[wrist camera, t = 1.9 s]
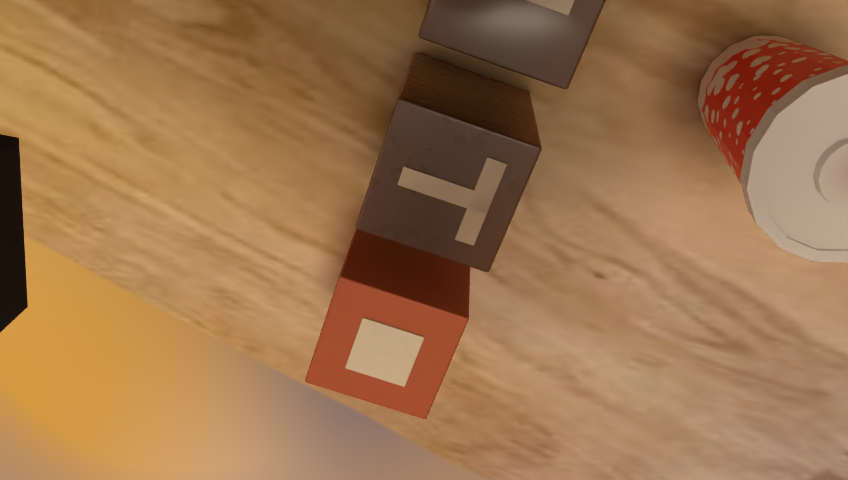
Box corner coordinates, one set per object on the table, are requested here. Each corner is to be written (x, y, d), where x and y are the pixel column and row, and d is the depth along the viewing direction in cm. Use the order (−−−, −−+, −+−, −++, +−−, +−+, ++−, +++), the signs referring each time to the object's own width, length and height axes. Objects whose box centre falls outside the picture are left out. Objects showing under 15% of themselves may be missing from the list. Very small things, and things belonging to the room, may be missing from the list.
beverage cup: (651, 71, 31) (769, 211, 18) (799, -19, 29) (1045, 68, 16) (718, 190, 33) (867, 391, 20) (861, 114, 31) (1122, 282, 18)
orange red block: (335, 293, 36) (303, 384, 30) (365, 201, 34) (338, 278, 28) (435, 325, 36) (425, 422, 30) (471, 236, 34) (469, 320, 28)
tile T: (378, 161, 33) (353, 230, 27) (414, 51, 31) (397, 98, 25) (487, 198, 33) (488, 275, 27) (530, 92, 31) (543, 148, 25)
